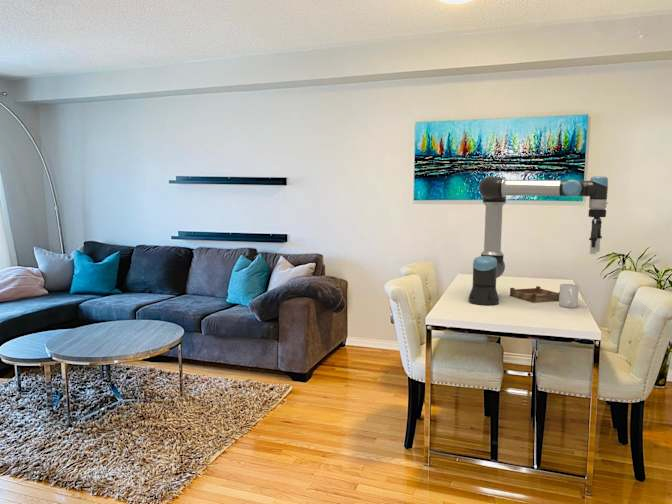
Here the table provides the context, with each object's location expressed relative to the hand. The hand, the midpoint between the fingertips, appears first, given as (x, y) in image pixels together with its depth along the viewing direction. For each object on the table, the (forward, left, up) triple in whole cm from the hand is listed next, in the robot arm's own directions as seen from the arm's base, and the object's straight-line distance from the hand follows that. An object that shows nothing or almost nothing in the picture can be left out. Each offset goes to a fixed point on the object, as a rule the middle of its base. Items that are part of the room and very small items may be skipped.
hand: (594, 252), depth 251 cm
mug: (-10, 0, -28) cm, 30 cm away
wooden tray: (-28, +14, -28) cm, 42 cm away
